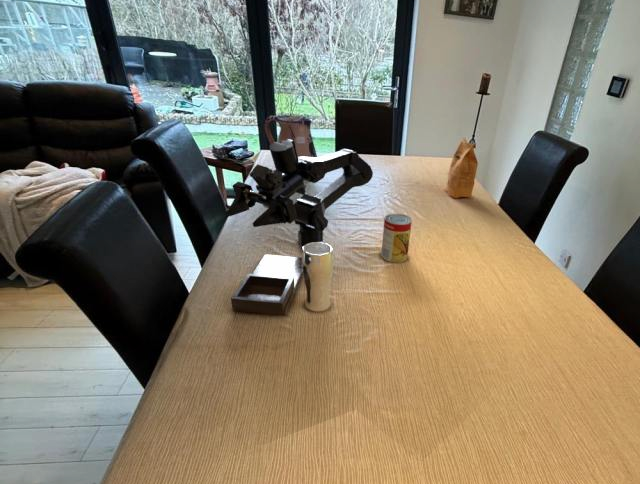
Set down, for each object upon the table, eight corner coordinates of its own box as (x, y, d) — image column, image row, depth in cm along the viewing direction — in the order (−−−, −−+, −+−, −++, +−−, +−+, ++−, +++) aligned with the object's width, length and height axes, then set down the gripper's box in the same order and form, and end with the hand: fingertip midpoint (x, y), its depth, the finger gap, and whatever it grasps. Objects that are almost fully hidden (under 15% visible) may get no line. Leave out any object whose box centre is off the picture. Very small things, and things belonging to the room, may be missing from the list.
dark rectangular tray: (265, 259, 117) (264, 246, 115) (307, 262, 117) (307, 250, 115) (231, 313, 94) (229, 298, 92) (284, 318, 94) (283, 303, 92)
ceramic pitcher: (314, 189, 169) (313, 123, 155) (262, 185, 168) (256, 118, 154) (320, 176, 183) (320, 115, 170) (272, 172, 183) (268, 111, 169)
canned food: (412, 257, 125) (417, 219, 119) (395, 265, 120) (399, 226, 114) (393, 248, 129) (397, 211, 123) (375, 255, 124) (378, 217, 118)
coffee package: (463, 189, 185) (473, 137, 173) (473, 199, 175) (484, 145, 163) (442, 189, 183) (450, 136, 171) (451, 199, 173) (460, 144, 161)
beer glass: (337, 300, 102) (338, 245, 94) (324, 315, 96) (324, 258, 88) (311, 294, 104) (310, 239, 95) (297, 308, 98) (295, 251, 90)
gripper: (248, 151, 106) (201, 181, 98) (303, 167, 98) (257, 201, 90) (261, 189, 114) (218, 219, 106) (313, 206, 106) (271, 241, 98)
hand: (240, 219), depth 100 cm, fingers open, 9 cm apart
